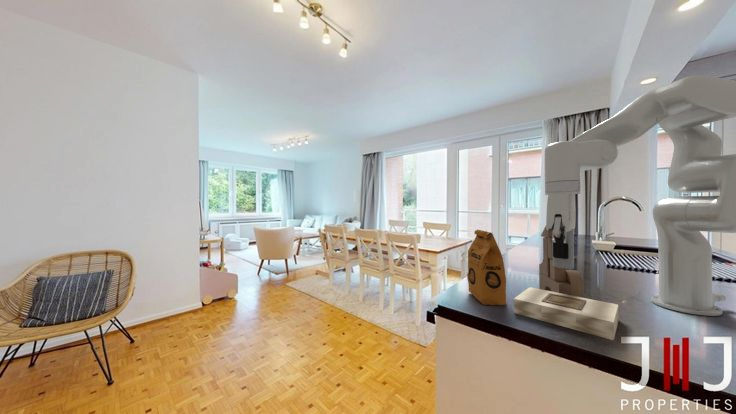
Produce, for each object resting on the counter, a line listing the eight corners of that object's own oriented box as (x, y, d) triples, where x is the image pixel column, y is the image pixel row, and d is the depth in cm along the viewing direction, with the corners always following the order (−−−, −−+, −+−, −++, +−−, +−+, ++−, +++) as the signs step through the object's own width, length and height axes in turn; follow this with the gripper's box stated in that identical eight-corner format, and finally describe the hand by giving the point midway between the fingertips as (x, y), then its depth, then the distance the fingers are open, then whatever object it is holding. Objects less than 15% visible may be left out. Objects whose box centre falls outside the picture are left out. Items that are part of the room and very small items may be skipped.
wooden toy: (585, 306, 74) (584, 221, 73) (559, 305, 75) (558, 221, 75) (558, 289, 89) (557, 218, 89) (537, 288, 90) (535, 218, 90)
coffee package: (477, 306, 75) (475, 233, 75) (465, 292, 88) (464, 229, 88) (511, 307, 74) (510, 232, 74) (494, 292, 87) (493, 228, 87)
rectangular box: (514, 312, 70) (513, 297, 70) (529, 299, 80) (529, 286, 80) (613, 340, 55) (613, 321, 55) (618, 320, 65) (618, 303, 65)
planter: (578, 268, 65) (578, 229, 65) (560, 268, 65) (560, 229, 65) (565, 264, 70) (564, 227, 70) (548, 264, 70) (548, 227, 70)
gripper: (552, 190, 76) (553, 250, 76) (536, 188, 64) (537, 259, 65) (585, 189, 70) (586, 254, 70) (573, 186, 59) (574, 264, 59)
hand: (562, 256), depth 67 cm, fingers closed on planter, 4 cm apart
